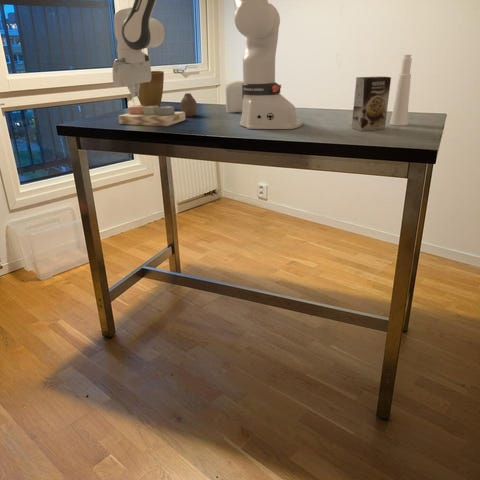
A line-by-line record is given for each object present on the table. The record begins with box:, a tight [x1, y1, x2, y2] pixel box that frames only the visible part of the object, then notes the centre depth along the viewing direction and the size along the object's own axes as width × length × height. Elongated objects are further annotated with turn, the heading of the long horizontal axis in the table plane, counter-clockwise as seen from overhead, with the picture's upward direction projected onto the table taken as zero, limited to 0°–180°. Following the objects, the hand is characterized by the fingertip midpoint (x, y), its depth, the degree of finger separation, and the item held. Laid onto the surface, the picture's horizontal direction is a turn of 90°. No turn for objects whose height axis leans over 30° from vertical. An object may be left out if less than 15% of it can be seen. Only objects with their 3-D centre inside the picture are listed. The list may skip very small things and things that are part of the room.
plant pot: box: [137, 70, 165, 108], centre depth 193 cm, size 15×15×16 cm
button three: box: [143, 106, 159, 115], centre depth 163 cm, size 4×4×3 cm
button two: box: [158, 105, 176, 116], centre depth 161 cm, size 4×4×3 cm
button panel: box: [118, 111, 186, 127], centre depth 164 cm, size 21×14×3 cm, turn 68°
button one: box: [128, 105, 145, 115], centre depth 166 cm, size 4×4×3 cm
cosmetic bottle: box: [389, 54, 413, 127], centre depth 142 cm, size 6×6×22 cm
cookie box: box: [351, 76, 392, 132], centre depth 138 cm, size 9×6×16 cm
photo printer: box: [225, 80, 243, 114], centre depth 179 cm, size 10×4×12 cm, turn 109°
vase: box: [180, 92, 198, 118], centre depth 174 cm, size 7×7×9 cm
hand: (135, 96), depth 164 cm, fingers closed
